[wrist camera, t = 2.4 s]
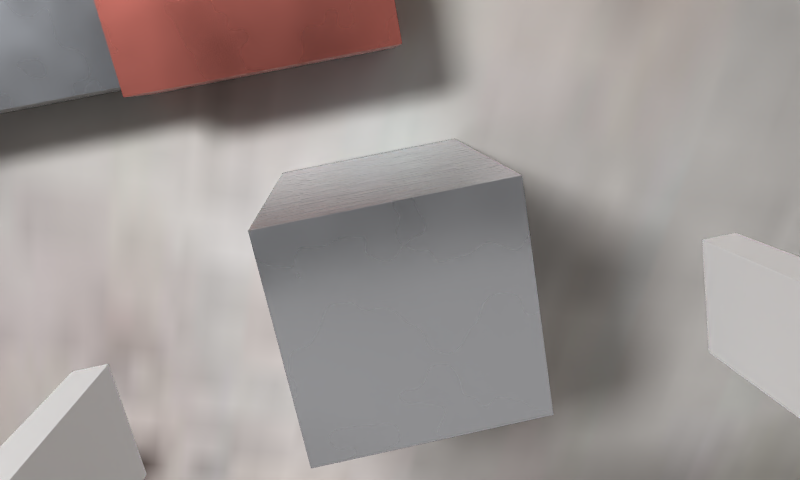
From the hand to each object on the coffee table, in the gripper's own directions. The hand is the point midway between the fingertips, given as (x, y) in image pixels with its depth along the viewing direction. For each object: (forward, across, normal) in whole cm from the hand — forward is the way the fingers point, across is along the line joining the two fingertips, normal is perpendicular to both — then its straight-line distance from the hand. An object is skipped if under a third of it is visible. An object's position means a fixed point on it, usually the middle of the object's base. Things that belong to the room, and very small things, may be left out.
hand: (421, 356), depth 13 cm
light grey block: (+9, 0, 0) cm, 9 cm away
